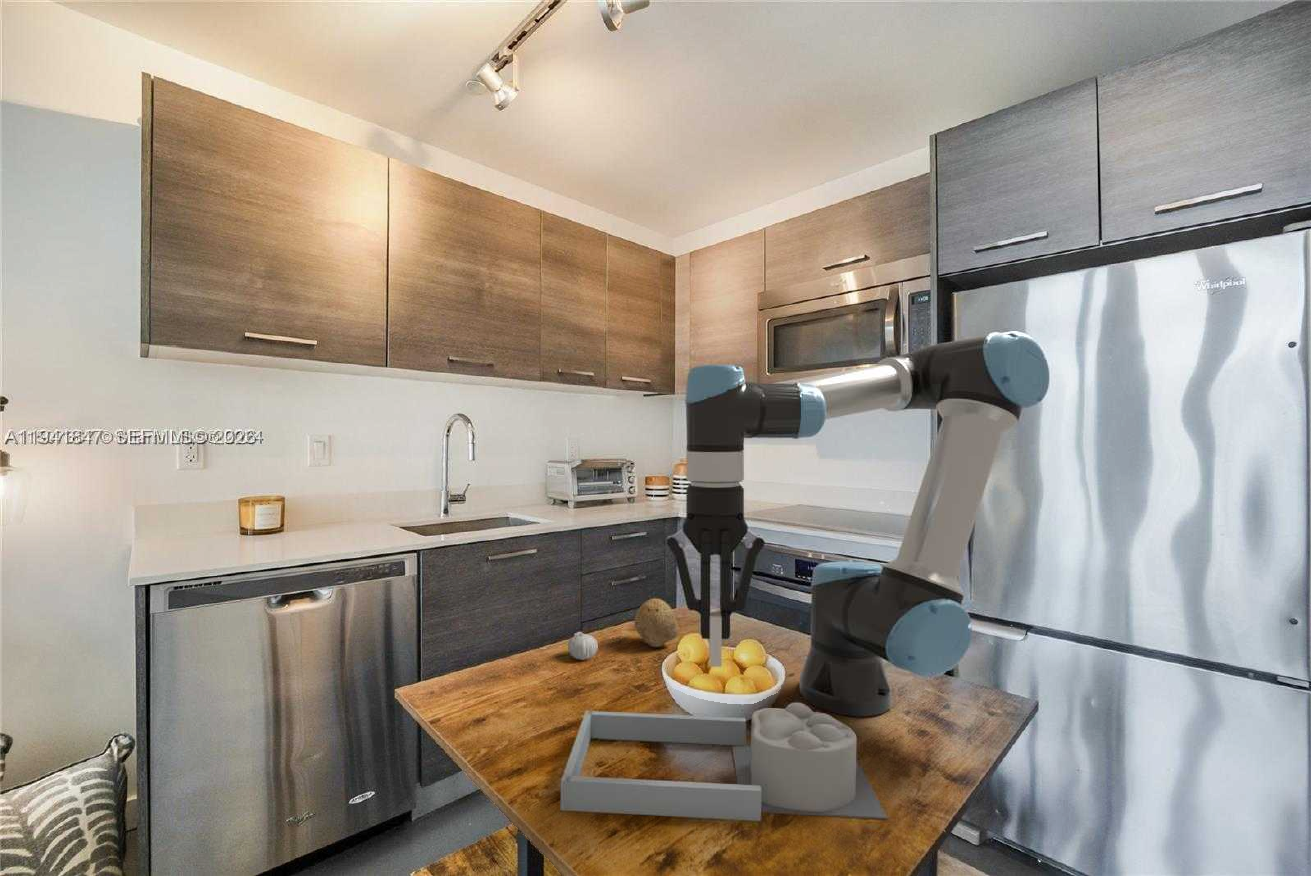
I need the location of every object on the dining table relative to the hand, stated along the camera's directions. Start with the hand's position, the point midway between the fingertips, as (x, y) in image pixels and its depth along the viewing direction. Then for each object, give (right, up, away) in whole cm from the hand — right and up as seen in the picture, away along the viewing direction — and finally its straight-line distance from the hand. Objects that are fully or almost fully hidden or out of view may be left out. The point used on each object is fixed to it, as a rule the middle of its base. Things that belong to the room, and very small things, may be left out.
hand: (715, 662), depth 75 cm
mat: (+11, -15, -1) cm, 19 cm away
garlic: (-22, -14, +38) cm, 46 cm away
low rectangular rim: (-7, -15, 0) cm, 16 cm away
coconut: (-8, -15, +45) cm, 48 cm away
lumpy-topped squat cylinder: (+11, -15, -2) cm, 19 cm away
